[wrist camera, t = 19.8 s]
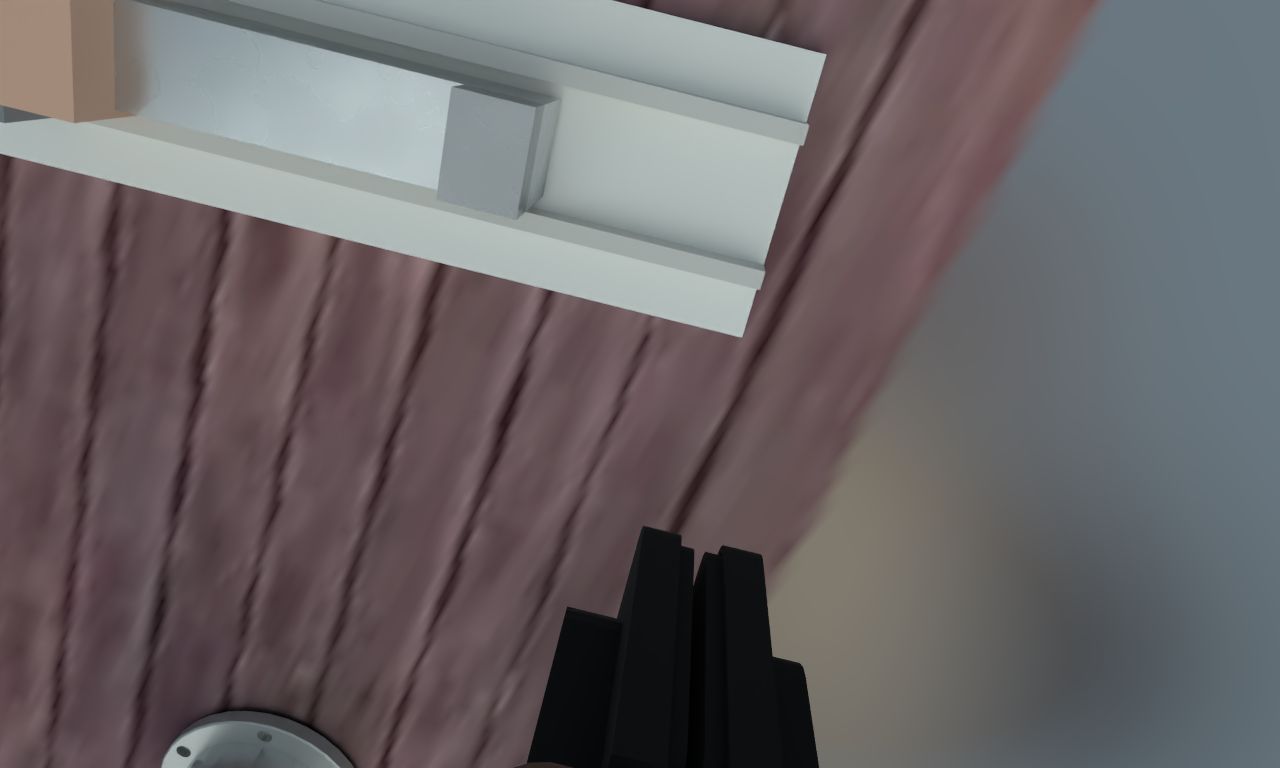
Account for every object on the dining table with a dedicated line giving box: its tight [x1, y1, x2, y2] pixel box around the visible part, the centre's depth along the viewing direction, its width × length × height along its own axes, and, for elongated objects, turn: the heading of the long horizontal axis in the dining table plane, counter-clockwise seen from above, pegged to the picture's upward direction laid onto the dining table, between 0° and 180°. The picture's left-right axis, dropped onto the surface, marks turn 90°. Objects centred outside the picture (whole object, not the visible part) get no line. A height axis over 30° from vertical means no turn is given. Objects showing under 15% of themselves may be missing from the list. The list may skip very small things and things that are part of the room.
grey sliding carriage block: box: [113, 0, 561, 220], centre depth 32 cm, size 4×16×5 cm, turn 77°
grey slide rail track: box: [0, 0, 826, 337], centre depth 33 cm, size 12×34×5 cm, turn 77°
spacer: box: [0, 0, 138, 123], centre depth 32 cm, size 4×4×6 cm
